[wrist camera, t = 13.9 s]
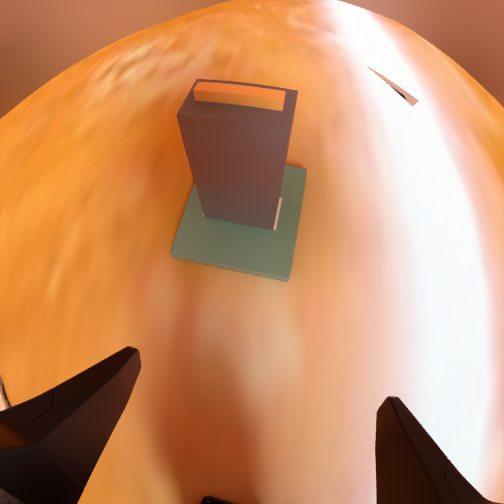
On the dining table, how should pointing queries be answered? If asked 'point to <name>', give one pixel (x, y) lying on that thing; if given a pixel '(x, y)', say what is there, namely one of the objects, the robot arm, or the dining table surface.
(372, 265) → the dining table surface
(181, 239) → the board
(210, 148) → the block
